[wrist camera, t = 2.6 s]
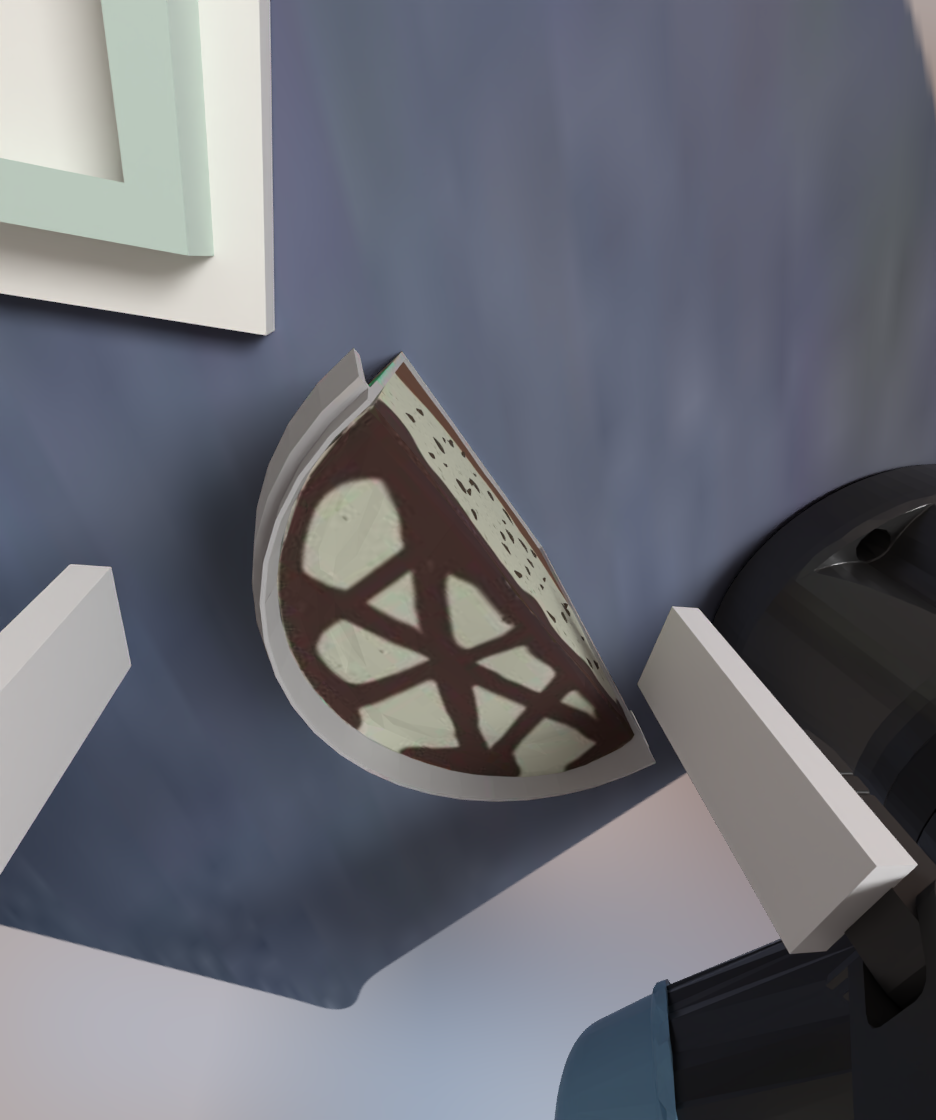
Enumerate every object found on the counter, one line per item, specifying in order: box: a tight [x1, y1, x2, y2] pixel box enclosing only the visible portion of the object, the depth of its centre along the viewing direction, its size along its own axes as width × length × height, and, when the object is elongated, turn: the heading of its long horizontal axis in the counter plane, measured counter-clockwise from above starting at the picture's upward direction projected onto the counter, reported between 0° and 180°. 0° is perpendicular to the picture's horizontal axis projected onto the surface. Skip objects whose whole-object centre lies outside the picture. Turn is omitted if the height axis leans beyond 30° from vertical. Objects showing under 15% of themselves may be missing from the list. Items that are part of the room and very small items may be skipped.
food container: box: [252, 348, 656, 802], centre depth 15 cm, size 12×6×10 cm, turn 34°
